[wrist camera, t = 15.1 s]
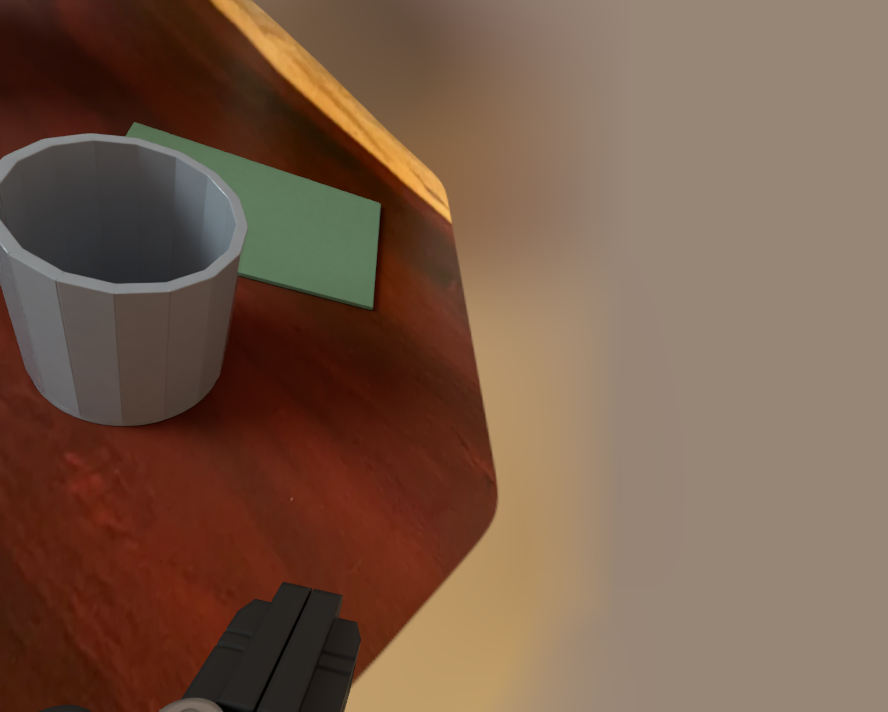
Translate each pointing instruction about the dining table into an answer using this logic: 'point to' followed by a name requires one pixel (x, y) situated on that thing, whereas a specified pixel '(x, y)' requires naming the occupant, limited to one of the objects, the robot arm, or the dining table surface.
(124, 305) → the faceted pen holder
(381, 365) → the dining table surface
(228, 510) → the dining table surface
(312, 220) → the cloth
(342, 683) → the robot arm
